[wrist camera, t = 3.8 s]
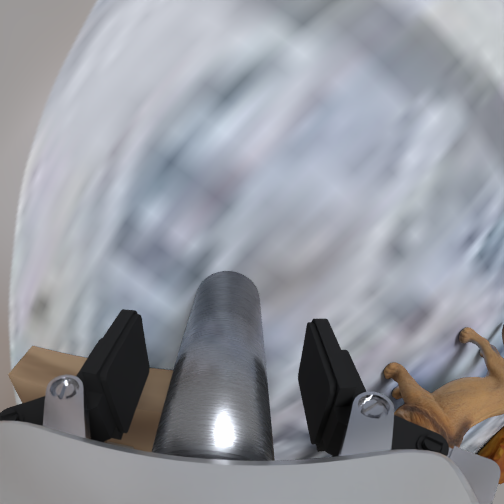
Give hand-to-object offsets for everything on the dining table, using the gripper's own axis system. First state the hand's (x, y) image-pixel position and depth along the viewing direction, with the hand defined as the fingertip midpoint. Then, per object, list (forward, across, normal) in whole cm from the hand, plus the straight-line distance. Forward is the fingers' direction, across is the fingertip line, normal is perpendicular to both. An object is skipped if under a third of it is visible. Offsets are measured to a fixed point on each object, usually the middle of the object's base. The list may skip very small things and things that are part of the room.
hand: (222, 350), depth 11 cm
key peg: (+4, 0, 0) cm, 4 cm away
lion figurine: (+4, -14, +6) cm, 16 cm away
